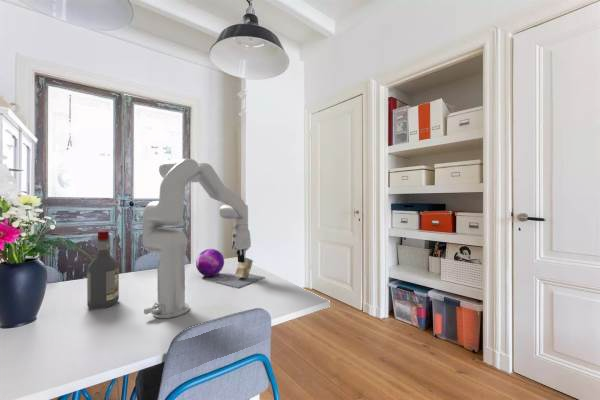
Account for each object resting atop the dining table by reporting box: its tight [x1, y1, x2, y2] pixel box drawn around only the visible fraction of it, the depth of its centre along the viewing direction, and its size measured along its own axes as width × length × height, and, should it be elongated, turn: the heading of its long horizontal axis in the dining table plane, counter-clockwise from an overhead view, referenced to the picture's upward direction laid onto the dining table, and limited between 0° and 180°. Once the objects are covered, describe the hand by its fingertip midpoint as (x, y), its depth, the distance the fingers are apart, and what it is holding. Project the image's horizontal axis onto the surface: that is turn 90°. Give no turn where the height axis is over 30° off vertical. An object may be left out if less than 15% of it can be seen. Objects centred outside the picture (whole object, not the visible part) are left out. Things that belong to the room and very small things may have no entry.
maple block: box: [234, 257, 254, 279], centre depth 145 cm, size 5×5×10 cm
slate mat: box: [215, 273, 266, 289], centre depth 143 cm, size 20×16×1 cm
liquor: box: [86, 230, 120, 310], centre depth 110 cm, size 9×9×30 cm
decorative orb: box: [195, 248, 225, 277], centre depth 152 cm, size 15×15×15 cm
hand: (241, 261), depth 143 cm, fingers closed
